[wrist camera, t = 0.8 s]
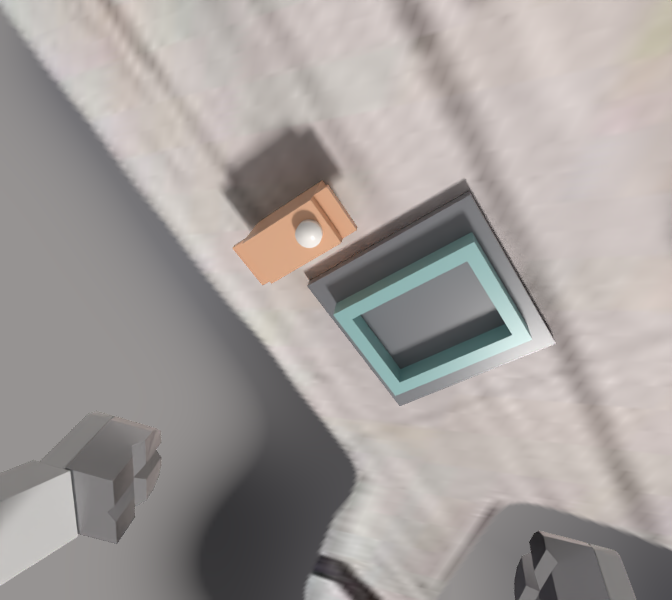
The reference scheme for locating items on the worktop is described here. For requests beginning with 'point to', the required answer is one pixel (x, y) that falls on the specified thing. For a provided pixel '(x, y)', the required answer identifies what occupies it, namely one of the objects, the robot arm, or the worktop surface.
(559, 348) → the worktop surface
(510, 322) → the plate
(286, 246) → the block
